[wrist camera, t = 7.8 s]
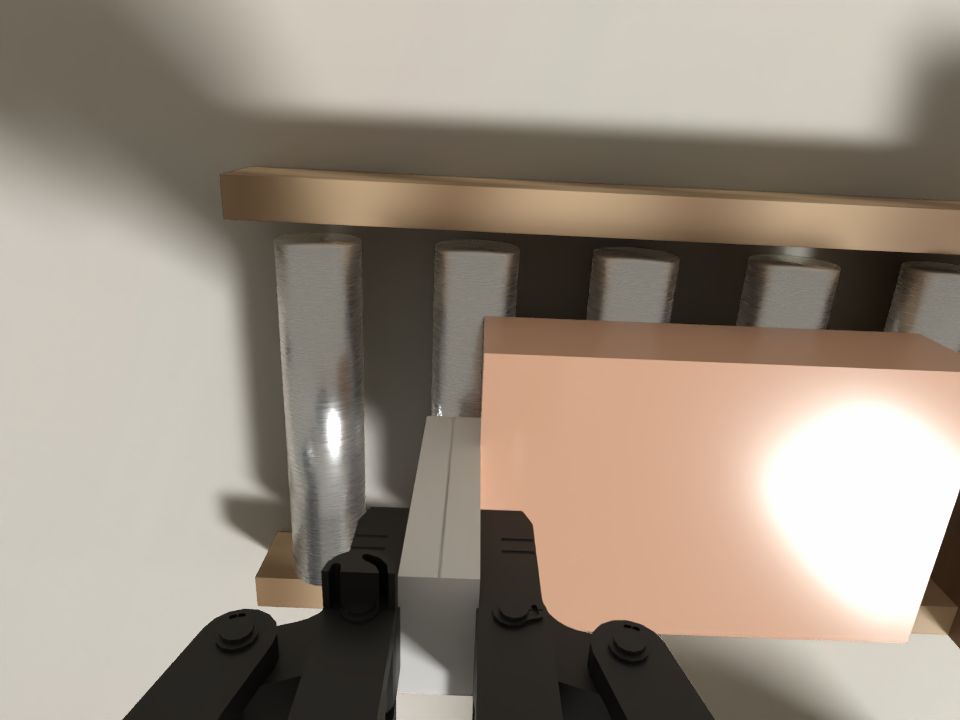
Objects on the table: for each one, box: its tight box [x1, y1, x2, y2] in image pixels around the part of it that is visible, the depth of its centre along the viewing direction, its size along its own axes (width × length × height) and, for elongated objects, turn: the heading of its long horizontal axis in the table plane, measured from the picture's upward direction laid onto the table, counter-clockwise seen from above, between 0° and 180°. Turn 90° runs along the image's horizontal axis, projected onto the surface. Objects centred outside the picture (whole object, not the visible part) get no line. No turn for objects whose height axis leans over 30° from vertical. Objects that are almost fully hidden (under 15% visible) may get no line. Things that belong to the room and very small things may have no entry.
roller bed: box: [274, 232, 960, 586], centre depth 21 cm, size 11×20×2 cm, turn 87°
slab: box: [480, 316, 960, 643], centre depth 18 cm, size 12×8×3 cm, turn 88°
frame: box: [220, 167, 960, 648], centre depth 20 cm, size 26×14×7 cm, turn 87°
